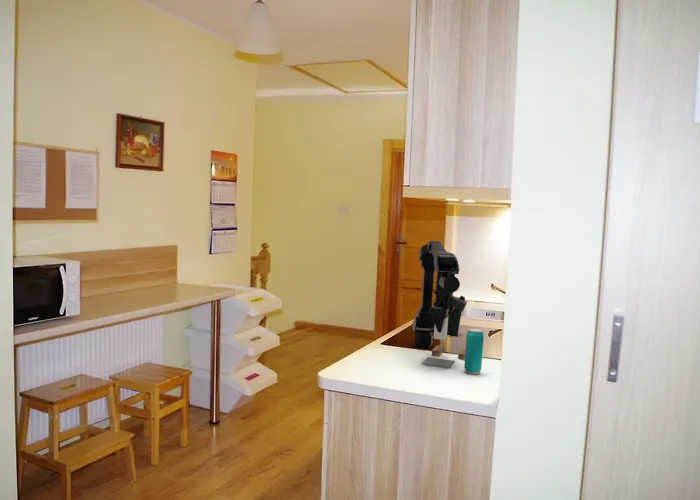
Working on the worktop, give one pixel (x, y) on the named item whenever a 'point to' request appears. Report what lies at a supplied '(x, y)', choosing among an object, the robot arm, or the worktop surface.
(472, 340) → the beverage can
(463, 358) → the vise
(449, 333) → the cup
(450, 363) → the pad
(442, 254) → the robot arm
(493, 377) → the worktop surface
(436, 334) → the pale grey block
